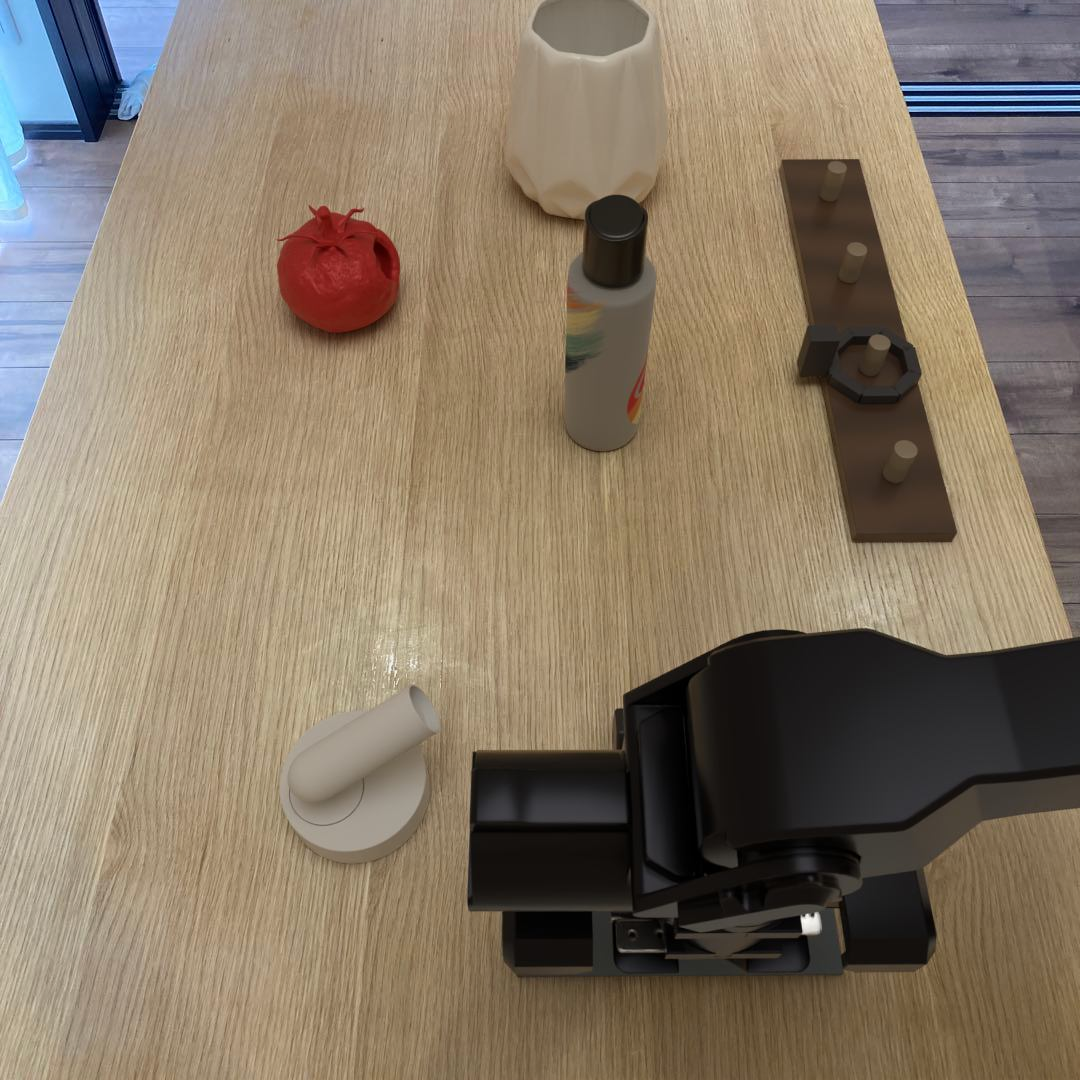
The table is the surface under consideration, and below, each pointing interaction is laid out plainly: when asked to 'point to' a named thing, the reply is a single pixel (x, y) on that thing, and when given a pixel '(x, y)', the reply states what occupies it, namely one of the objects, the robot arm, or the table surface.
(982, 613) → the table surface
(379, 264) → the pomegranate
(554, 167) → the vase
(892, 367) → the peg rack
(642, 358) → the lotion bottle
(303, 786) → the wall hook
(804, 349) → the ring charcoal
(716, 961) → the mat
